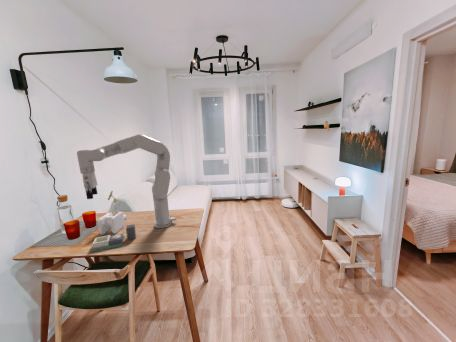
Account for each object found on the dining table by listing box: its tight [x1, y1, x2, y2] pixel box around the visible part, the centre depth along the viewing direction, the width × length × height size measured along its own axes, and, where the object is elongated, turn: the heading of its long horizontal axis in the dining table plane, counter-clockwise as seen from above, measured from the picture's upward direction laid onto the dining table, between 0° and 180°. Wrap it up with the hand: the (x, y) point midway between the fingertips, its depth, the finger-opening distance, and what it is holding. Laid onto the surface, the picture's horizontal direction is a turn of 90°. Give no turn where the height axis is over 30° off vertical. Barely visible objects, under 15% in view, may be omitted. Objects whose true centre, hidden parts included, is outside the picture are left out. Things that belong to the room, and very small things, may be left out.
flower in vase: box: [107, 190, 127, 220], centre depth 165 cm, size 13×11×25 cm
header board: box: [90, 233, 125, 253], centre depth 132 cm, size 16×12×4 cm
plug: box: [125, 223, 137, 241], centre depth 138 cm, size 5×4×8 cm
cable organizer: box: [96, 211, 126, 235], centre depth 149 cm, size 15×11×12 cm
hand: (92, 196), depth 136 cm, fingers open, 9 cm apart
